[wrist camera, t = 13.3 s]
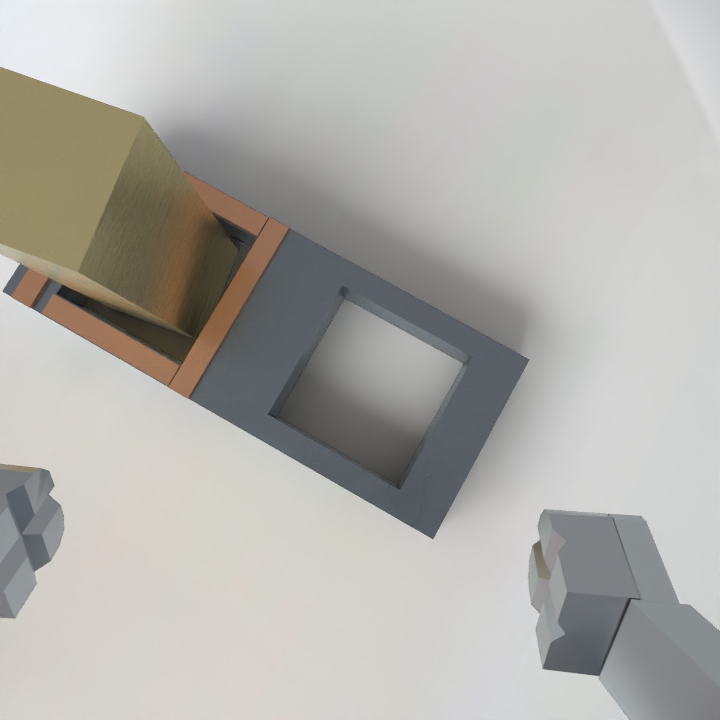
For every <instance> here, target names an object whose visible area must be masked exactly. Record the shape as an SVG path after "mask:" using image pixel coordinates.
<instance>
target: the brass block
mask: <svg viewBox="0 0 720 720" xmlns="http://www.w3.org/2000/svg"><path fill="white" fill-rule="evenodd" d="M238 252H239V251H238V249H237V248H236V246H235V245H234V243H233V242H232V241H231V239H230V238H229V236H228V235H227V234H226V232H225V231H224V229H223V228H222V227H221V225H220V224H219V222H218V221H217V219H216V218H215V217H214V215H213V214H212V212H211V211H210V210H209V208H208V207H207V205H206V204H205V202H204V201H203V200H202V198H201V197H200V195H199V194H198V193H197V191H196V190H195V188H194V187H193V186H192V184H191V183H190V181H189V180H188V178H187V177H186V176H185V174H184V173H183V171H182V170H181V169H180V167H179V166H178V164H177V163H176V162H175V160H174V159H173V157H172V156H171V154H170V153H169V152H168V150H167V149H166V147H165V146H164V145H163V143H162V142H161V140H160V139H159V137H158V136H157V135H156V133H155V132H154V130H153V129H152V128H151V126H150V125H149V123H148V122H147V121H146V119H145V118H144V117H143V116H140V115H137V114H134V113H131V112H128V111H125V110H123V109H120V108H117V107H114V106H111V105H108V104H105V103H102V102H100V101H97V100H94V99H91V98H88V97H85V96H82V95H79V94H77V93H74V92H71V91H68V90H65V89H62V88H59V87H57V86H54V85H51V84H48V83H45V82H42V81H39V80H36V79H34V78H31V77H28V76H25V75H22V74H19V73H16V72H13V71H11V70H8V69H5V68H2V67H0V254H2V255H4V256H6V257H8V258H10V259H12V260H14V261H16V262H18V263H20V264H22V265H24V266H26V267H28V268H30V269H32V270H34V271H36V272H38V273H40V274H42V275H44V276H46V277H48V278H50V279H52V280H54V281H56V282H58V283H60V284H63V285H65V286H67V287H69V288H71V289H73V290H75V291H77V292H79V293H81V294H83V295H85V296H87V297H89V298H91V299H93V300H95V301H97V302H99V303H101V304H103V305H105V306H107V307H109V308H111V309H114V310H117V311H119V312H122V313H125V314H128V315H130V316H133V317H136V318H138V319H141V320H144V321H147V322H149V323H152V324H155V325H157V326H160V327H163V328H166V329H168V330H171V331H174V332H176V333H179V334H182V335H185V336H187V337H190V338H193V339H196V340H197V338H198V337H199V335H200V333H201V332H202V330H203V328H204V327H205V325H206V323H207V322H208V320H209V318H210V317H211V315H212V313H213V312H214V310H215V308H216V307H217V304H218V302H219V299H220V297H221V294H222V292H223V289H224V287H225V284H226V282H227V279H228V277H229V274H230V272H231V269H232V267H233V264H234V262H235V259H236V257H237V254H238Z"/></svg>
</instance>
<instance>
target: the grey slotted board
mask: <svg viewBox="0 0 720 720" xmlns="http://www.w3.org/2000/svg"><path fill="white" fill-rule="evenodd" d="M182 171H183V170H182ZM183 173H184V174H185V176H186V177H187V178H188V180H189V181H190V183H191V184H192V186H193V187H194V188H195V190H196V191H197V193H198V194H199V195H200V197H201V198H202V200H203V201H204V202H205V204H206V205H207V207H208V208H209V210H210V211H211V212H212V214H213V215H214V217H215V218H216V219H217V221H218V222H219V224H220V225H221V227H222V228H223V229H224V231H225V232H226V233H228V234H229V235H231V236H233V237H235V238H237V239H238V240H240V241H242V242H244V243H246V244H248V245H249V246H251V247H252V248H251V250H250V251H249V253H248V255H247V256H246V258H245V260H244V261H243V263H242V265H241V266H240V268H239V270H238V272H237V273H236V275H235V277H234V278H233V280H232V282H231V283H230V285H229V287H228V288H227V290H226V292H225V293H224V295H223V297H222V298H221V300H220V302H219V303H218V305H217V307H216V308H215V310H214V312H213V313H212V315H211V317H210V318H209V320H208V322H207V323H206V325H205V327H204V328H203V330H202V332H201V333H200V335H199V337H198V338H197V340H196V342H195V343H194V345H193V347H192V348H191V350H190V352H189V354H188V355H187V357H186V359H185V360H184V362H183V363H182V362H180V361H179V360H177V359H175V358H173V357H172V356H170V355H168V354H166V353H165V352H163V351H161V350H159V349H158V348H156V347H154V346H152V345H151V344H149V343H147V342H145V341H144V340H142V339H140V338H138V337H137V336H135V335H133V334H131V333H130V332H128V331H126V330H124V329H123V328H121V327H119V326H117V325H116V324H114V323H112V322H110V321H109V320H107V319H105V318H103V317H102V316H100V315H98V314H96V313H95V312H93V311H91V310H89V309H88V308H86V307H84V306H83V305H84V304H85V302H86V300H87V299H88V297H87V296H85V295H83V294H81V293H79V292H77V291H75V290H73V289H71V288H69V287H67V286H65V285H63V284H60V283H58V282H56V281H54V280H52V279H50V278H48V277H46V276H44V275H42V274H40V273H38V272H36V271H34V270H32V269H30V268H28V267H26V266H24V265H22V264H20V265H19V266H18V268H17V269H16V271H15V272H14V274H13V276H12V277H11V279H10V280H9V282H8V283H7V285H6V287H5V288H4V290H3V292H4V293H6V294H8V295H10V296H11V297H12V298H14V299H16V300H17V301H19V302H21V303H23V304H24V305H26V306H28V307H30V308H32V309H34V310H36V311H37V312H39V313H41V314H43V315H44V316H46V317H48V318H50V319H51V320H53V321H55V322H56V323H58V324H60V325H62V326H63V327H65V328H67V329H69V330H70V331H72V332H74V333H76V334H77V335H79V336H81V337H83V338H84V339H86V340H88V341H90V342H91V343H93V344H95V345H96V346H98V347H100V348H102V349H103V350H105V351H107V352H109V353H110V354H112V355H114V356H116V357H117V358H119V359H121V360H123V361H124V362H126V363H128V364H129V365H131V366H133V367H135V368H136V369H138V370H140V371H142V372H143V373H145V374H147V375H149V376H150V377H152V378H154V379H156V380H157V381H159V382H161V383H163V384H164V385H166V386H168V387H169V388H170V389H172V390H174V391H175V392H177V393H179V394H181V395H182V396H184V397H186V398H188V399H190V400H192V401H194V402H196V403H197V404H199V405H201V406H202V407H204V408H206V409H208V410H209V411H211V412H213V413H215V414H216V415H218V416H220V417H222V418H223V419H225V420H227V421H229V422H230V423H232V424H234V425H236V426H237V427H239V428H241V429H242V430H244V431H246V432H248V433H249V434H251V435H253V436H255V437H256V438H258V439H260V440H262V441H263V442H265V443H267V444H269V445H270V446H272V447H274V448H275V449H277V450H279V451H281V452H282V453H284V454H286V455H288V456H289V457H291V458H293V459H295V460H296V461H298V462H300V463H302V464H303V465H305V466H307V467H309V468H310V469H312V470H314V471H315V472H317V473H319V474H321V475H322V476H324V477H326V478H328V479H329V480H331V481H333V482H335V483H336V484H338V485H340V486H342V487H343V488H345V489H347V490H349V491H350V492H352V493H354V494H355V495H357V496H359V497H361V498H362V499H364V500H366V501H368V502H369V503H371V504H373V505H375V506H376V507H378V508H380V509H382V510H383V511H385V512H387V513H388V514H390V515H392V516H394V517H395V518H397V519H399V520H401V521H402V522H404V523H406V524H408V525H409V526H411V527H413V528H415V529H416V530H418V531H420V532H422V533H423V534H425V535H427V536H428V537H430V538H432V539H433V538H434V536H435V535H436V533H437V531H438V529H439V527H440V525H441V523H442V522H443V520H444V518H445V516H446V514H447V512H448V510H449V508H450V507H451V505H452V503H453V501H454V499H455V497H456V495H457V494H458V492H459V490H460V488H461V486H462V484H463V482H464V481H465V479H466V477H467V475H468V473H469V471H470V469H471V468H472V466H473V464H474V462H475V460H476V458H477V456H478V454H479V453H480V451H481V449H482V447H483V445H484V443H485V441H486V440H487V438H488V436H489V434H490V432H491V430H492V428H493V427H494V425H495V423H496V421H497V419H498V417H499V415H500V413H501V412H502V410H503V408H504V406H505V404H506V402H507V400H508V399H509V397H510V395H511V393H512V391H513V389H514V387H515V386H516V384H517V382H518V380H519V378H520V376H521V374H522V373H523V371H524V369H525V367H526V365H527V363H528V361H529V359H527V358H526V357H524V356H522V355H520V354H518V353H516V352H515V351H513V350H511V349H509V348H507V347H505V346H504V345H502V344H500V343H498V342H496V341H494V340H493V339H491V338H489V337H487V336H485V335H483V334H482V333H480V332H478V331H476V330H474V329H472V328H471V327H469V326H467V325H465V324H463V323H461V322H460V321H458V320H456V319H454V318H452V317H450V316H449V315H447V314H445V313H443V312H441V311H439V310H438V309H436V308H434V307H432V306H430V305H428V304H427V303H425V302H423V301H421V300H419V299H417V298H416V297H414V296H412V295H410V294H408V293H406V292H405V291H403V290H401V289H399V288H397V287H395V286H394V285H392V284H390V283H388V282H386V281H384V280H383V279H381V278H379V277H377V276H375V275H373V274H372V273H370V272H368V271H366V270H364V269H362V268H361V267H359V266H357V265H355V264H353V263H351V262H350V261H348V260H346V259H344V258H342V257H340V256H339V255H337V254H335V253H333V252H331V251H329V250H328V249H326V248H324V247H322V246H320V245H318V244H317V243H315V242H313V241H311V240H309V239H307V238H306V237H304V236H302V235H300V234H298V233H296V232H295V231H293V230H291V229H290V228H289V227H288V226H286V225H284V224H282V223H280V222H279V221H277V220H275V219H273V218H271V217H270V218H269V217H267V216H265V215H263V214H262V213H260V212H258V211H256V210H254V209H252V208H251V207H249V206H247V205H245V204H243V203H241V202H240V201H238V200H236V199H234V198H232V197H230V196H229V195H227V194H225V193H223V192H221V191H219V190H218V189H216V188H214V187H212V186H210V185H208V184H207V183H205V182H203V181H201V180H199V179H197V178H196V177H194V176H192V175H190V174H188V173H186V172H185V171H183ZM344 298H346V299H347V300H349V301H351V302H353V303H355V304H357V305H358V306H360V307H362V308H364V309H366V310H367V311H369V312H371V313H373V314H375V315H377V316H378V317H380V318H382V319H384V320H386V321H387V322H389V323H391V324H393V325H395V326H397V327H398V328H400V329H402V330H404V331H406V332H407V333H409V334H411V335H413V336H415V337H417V338H418V339H420V340H422V341H424V342H426V343H427V344H429V345H431V346H433V347H435V348H436V349H438V350H440V351H442V352H444V353H446V354H447V355H449V356H451V357H453V358H455V359H456V360H458V361H460V362H462V363H464V365H463V367H462V369H461V370H460V372H459V374H458V376H457V378H456V380H455V381H454V383H453V385H452V387H451V389H450V391H449V392H448V394H447V396H446V398H445V400H444V402H443V403H442V405H441V407H440V409H439V411H438V412H437V414H436V416H435V418H434V420H433V422H432V423H431V425H430V427H429V429H428V431H427V433H426V434H425V436H424V438H423V440H422V442H421V443H420V445H419V447H418V449H417V451H416V453H415V454H414V456H413V458H412V460H411V462H410V464H409V465H408V467H407V469H406V471H405V473H404V475H403V476H402V478H401V480H400V482H399V484H398V485H396V484H394V483H392V482H391V481H389V480H387V479H385V478H384V477H382V476H380V475H378V474H377V473H375V472H373V471H371V470H370V469H368V468H366V467H364V466H363V465H361V464H359V463H357V462H356V461H354V460H352V459H350V458H349V457H347V456H345V455H343V454H342V453H340V452H338V451H336V450H335V449H333V448H331V447H329V446H328V445H326V444H324V443H322V442H321V441H319V440H317V439H315V438H314V437H312V436H310V435H308V434H307V433H305V432H303V431H301V430H300V429H298V428H296V427H294V426H293V425H291V424H289V423H287V422H286V421H284V420H282V419H280V418H279V417H277V415H278V413H279V411H280V409H281V408H282V406H283V404H284V402H285V401H286V399H287V397H288V396H289V394H290V392H291V390H292V389H293V387H294V385H295V383H296V382H297V380H298V378H299V376H300V375H301V373H302V371H303V369H304V368H305V366H306V364H307V362H308V361H309V359H310V357H311V356H312V354H313V352H314V350H315V349H316V347H317V345H318V343H319V342H320V340H321V338H322V336H323V335H324V333H325V331H326V329H327V328H328V326H329V324H330V323H331V321H332V319H333V317H334V316H335V314H336V312H337V310H338V309H339V307H340V305H341V303H342V302H343V300H344Z"/></svg>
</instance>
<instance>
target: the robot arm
mask: <svg viewBox="0 0 720 720" xmlns="http://www.w3.org/2000/svg"><path fill="white" fill-rule="evenodd" d="M53 487H54V483H53V480H52V477H51V475H50V472H49V471H48V470H45V469H42V468H33V467H24V466H15V465H6V464H0V618H16V616H17V615H18V613H19V611H20V610H21V608H22V607H23V605H24V603H25V602H26V600H27V599H28V597H29V595H30V594H31V592H32V591H33V589H34V587H35V586H36V584H37V581H36V576H35V571H36V570H38V569H39V568H41V567H42V566H44V565H45V564H47V563H48V562H50V561H51V560H52V558H53V556H54V555H55V553H56V551H57V550H58V548H59V546H60V542H61V539H62V535H63V531H64V515H63V511H62V508H61V505H60V504H59V503H58V502H56V501H55V500H54V499H53V498H52V497H51V496H50V495H49V493H50V492H51V490H52V489H53ZM538 531H539V536H540V540H539V541H538V542H537V543H535V544H534V545H533V546H532V550H531V555H530V559H529V573H528V580H529V592H530V599H531V605H532V606H533V607H534V608H535V609H536V610H537V611H538V612H539V613H540V615H539V619H538V623H537V626H536V635H537V640H538V646H539V652H540V657H541V663H542V669H547V670H555V671H563V672H571V673H579V674H587V675H595V676H599V680H600V681H601V683H602V684H603V685H604V687H605V688H606V689H607V691H608V692H609V693H610V695H611V696H612V697H613V699H614V700H615V701H616V703H617V704H618V705H619V707H620V708H621V709H622V711H623V712H624V713H625V714H626V716H627V717H628V718H629V720H720V631H719V630H718V629H717V628H716V627H714V626H713V625H712V624H711V623H710V622H709V621H708V620H707V619H705V618H704V617H703V616H702V615H701V614H700V613H699V612H697V611H696V610H695V609H694V608H693V607H692V606H691V605H687V604H680V603H679V601H678V598H677V596H676V593H675V591H674V588H673V586H672V584H671V581H670V579H669V576H668V574H667V571H666V569H665V566H664V564H663V561H662V559H661V557H660V554H659V552H658V549H657V547H656V544H655V542H654V539H653V537H652V534H651V532H650V530H649V527H648V525H647V522H646V521H645V520H644V519H643V518H642V517H641V516H633V515H619V514H603V513H590V512H576V511H562V510H548V509H544V510H543V512H542V514H541V516H540V519H539V523H538Z"/></svg>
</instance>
